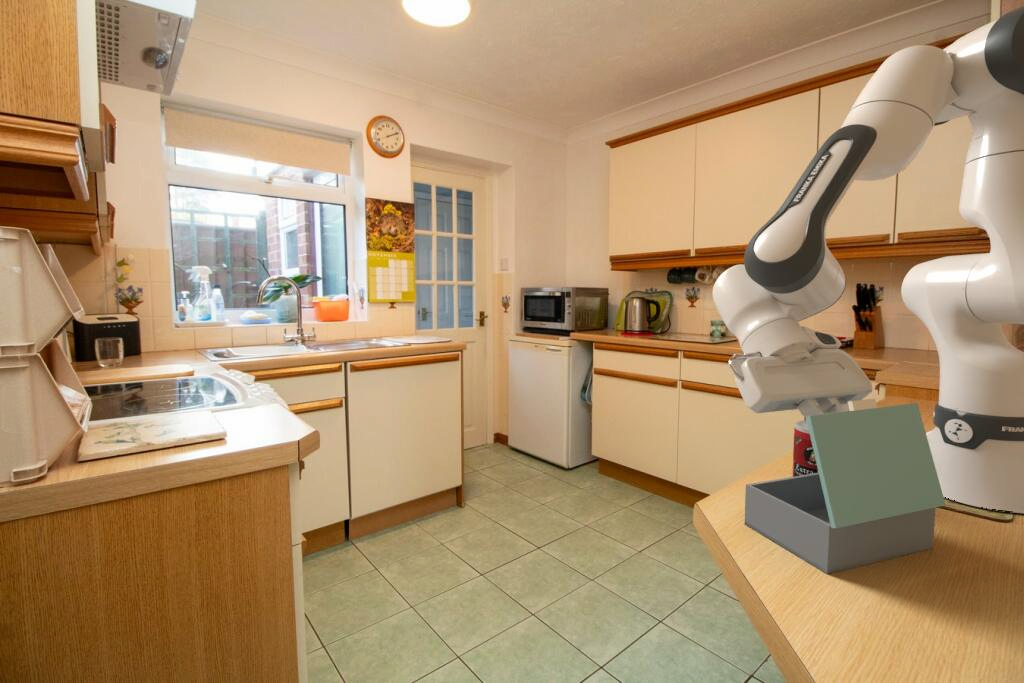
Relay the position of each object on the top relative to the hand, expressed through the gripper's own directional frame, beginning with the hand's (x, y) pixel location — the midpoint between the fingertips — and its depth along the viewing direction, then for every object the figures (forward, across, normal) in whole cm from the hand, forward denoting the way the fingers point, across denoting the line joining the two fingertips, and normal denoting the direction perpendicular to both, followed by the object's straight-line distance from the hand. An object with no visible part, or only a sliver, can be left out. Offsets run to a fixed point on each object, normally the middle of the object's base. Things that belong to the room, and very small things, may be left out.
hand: (836, 431), depth 64 cm
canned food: (+2, +12, +19) cm, 23 cm away
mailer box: (+10, 0, +10) cm, 15 cm away
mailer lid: (+5, 0, -2) cm, 5 cm away
